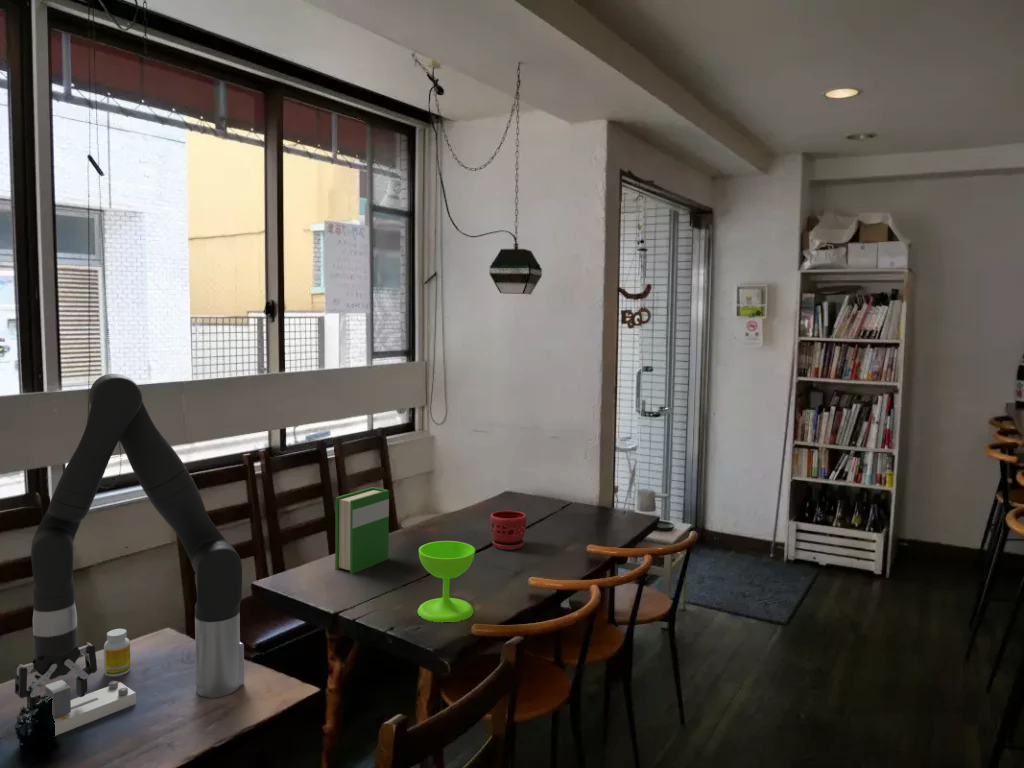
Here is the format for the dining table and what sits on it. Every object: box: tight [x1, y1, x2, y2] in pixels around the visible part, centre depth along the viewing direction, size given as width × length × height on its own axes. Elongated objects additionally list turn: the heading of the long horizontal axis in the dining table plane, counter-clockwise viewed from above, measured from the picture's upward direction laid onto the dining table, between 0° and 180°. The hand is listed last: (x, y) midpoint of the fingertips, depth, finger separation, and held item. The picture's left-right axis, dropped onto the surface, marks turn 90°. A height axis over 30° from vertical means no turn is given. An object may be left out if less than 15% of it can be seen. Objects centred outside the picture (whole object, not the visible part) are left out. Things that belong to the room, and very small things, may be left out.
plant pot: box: [489, 510, 527, 551], centre depth 273 cm, size 13×13×12 cm
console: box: [53, 680, 137, 737], centre depth 156 cm, size 16×7×4 cm, turn 142°
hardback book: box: [334, 486, 390, 575], centre depth 249 cm, size 18×7×24 cm, turn 149°
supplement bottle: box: [103, 628, 131, 678], centre depth 173 cm, size 5×5×10 cm
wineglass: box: [417, 540, 476, 624], centre depth 213 cm, size 16×16×18 cm
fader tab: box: [44, 679, 71, 718], centre depth 151 cm, size 3×4×6 cm
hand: (58, 704), depth 151 cm, fingers open, 8 cm apart
